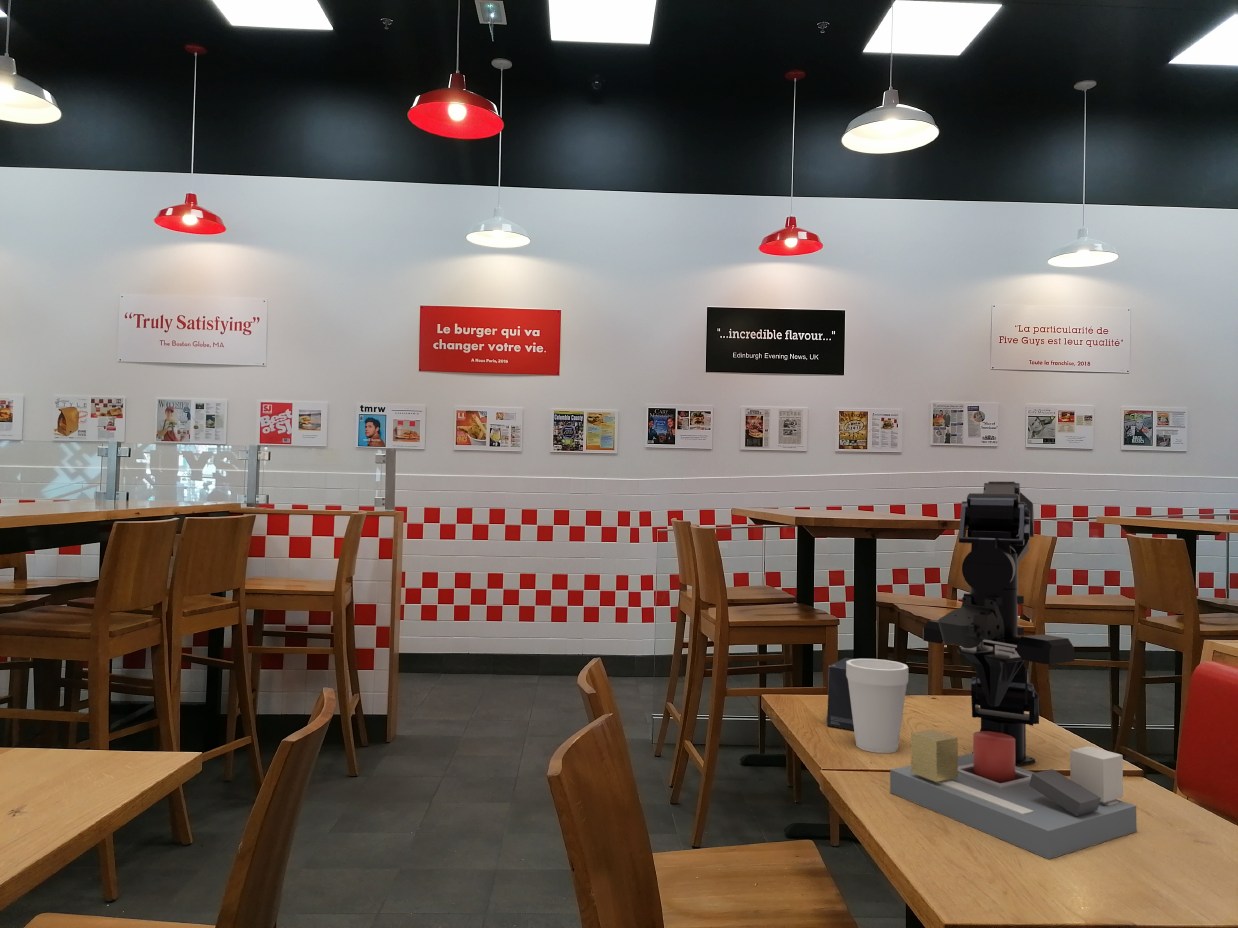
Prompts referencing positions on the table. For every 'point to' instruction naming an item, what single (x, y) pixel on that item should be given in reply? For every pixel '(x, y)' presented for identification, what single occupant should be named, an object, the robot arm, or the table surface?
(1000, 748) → the red button
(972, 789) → the panel
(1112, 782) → the ivory slider
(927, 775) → the brass slider
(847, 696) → the small box
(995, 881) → the table surface
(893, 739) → the foam cup
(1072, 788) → the block
